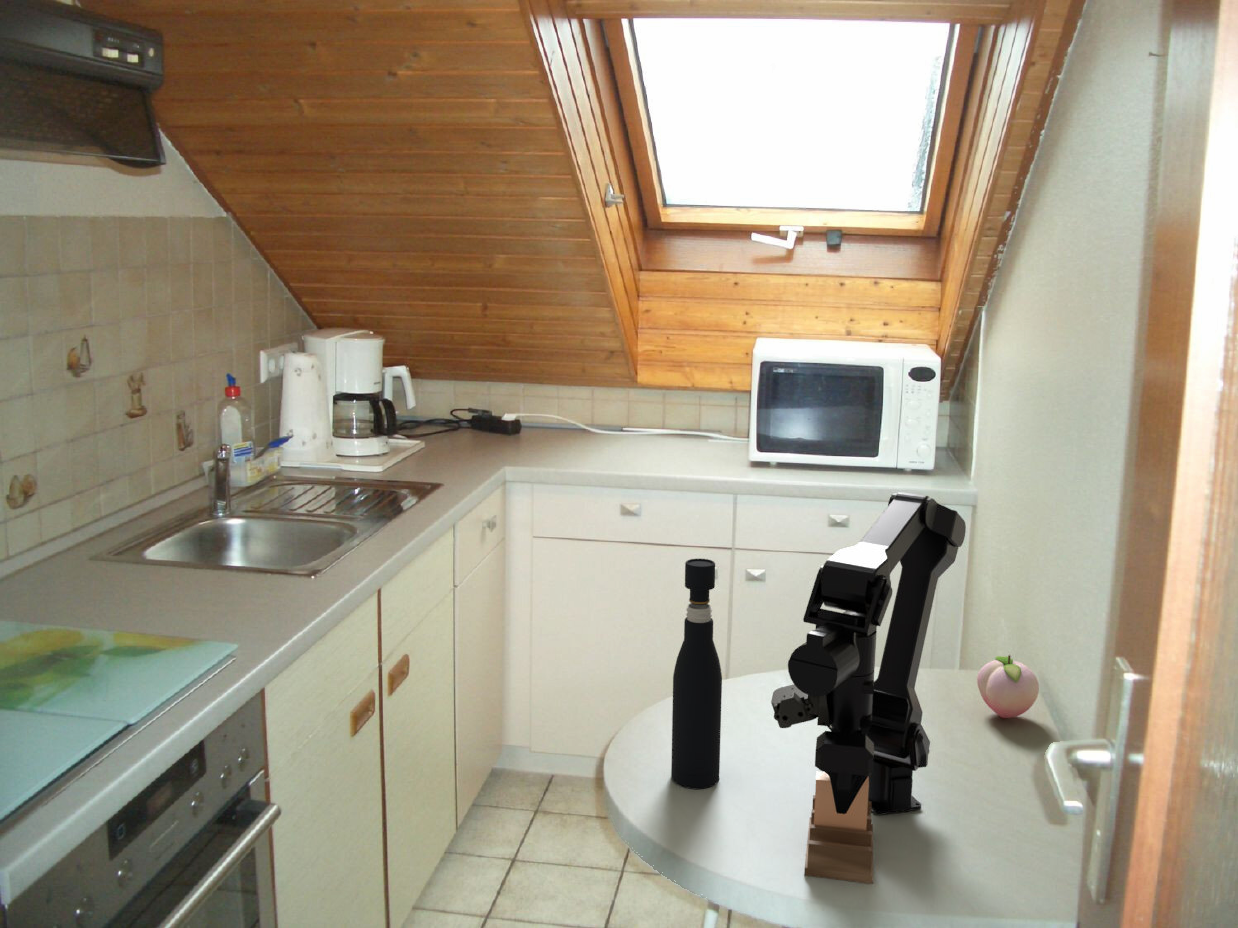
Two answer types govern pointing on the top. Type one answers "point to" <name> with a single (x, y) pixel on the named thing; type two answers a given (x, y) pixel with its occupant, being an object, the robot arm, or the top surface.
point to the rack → (840, 851)
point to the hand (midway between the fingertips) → (842, 793)
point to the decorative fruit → (1007, 686)
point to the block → (827, 811)
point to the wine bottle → (697, 687)
